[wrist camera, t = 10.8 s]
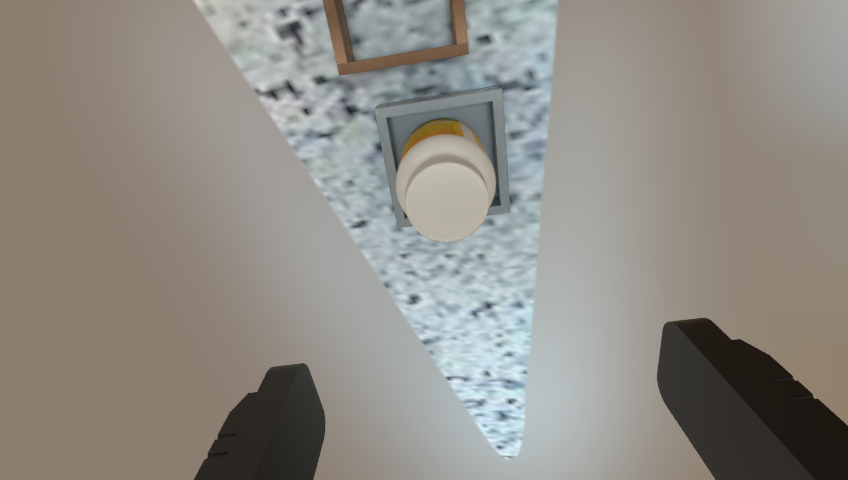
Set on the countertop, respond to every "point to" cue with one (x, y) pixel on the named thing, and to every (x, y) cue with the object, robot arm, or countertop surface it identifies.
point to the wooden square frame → (348, 65)
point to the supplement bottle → (445, 180)
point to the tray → (466, 106)
